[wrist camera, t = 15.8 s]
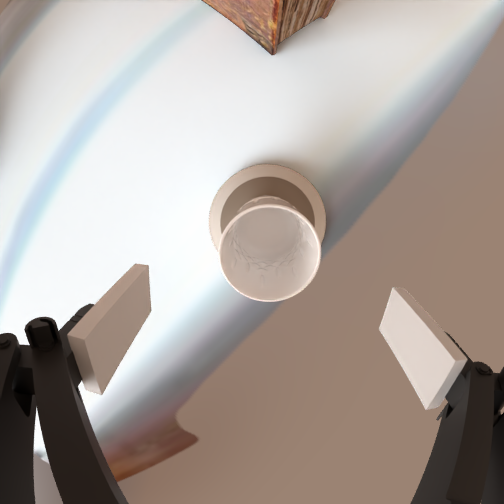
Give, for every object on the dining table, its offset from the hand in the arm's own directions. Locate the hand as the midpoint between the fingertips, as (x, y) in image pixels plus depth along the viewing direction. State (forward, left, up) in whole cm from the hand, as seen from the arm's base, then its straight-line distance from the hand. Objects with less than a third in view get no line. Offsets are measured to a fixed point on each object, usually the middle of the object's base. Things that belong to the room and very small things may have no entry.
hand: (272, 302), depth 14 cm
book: (-31, +9, -19) cm, 38 cm away
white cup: (0, 0, -18) cm, 18 cm away
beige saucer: (0, 0, -19) cm, 19 cm away
